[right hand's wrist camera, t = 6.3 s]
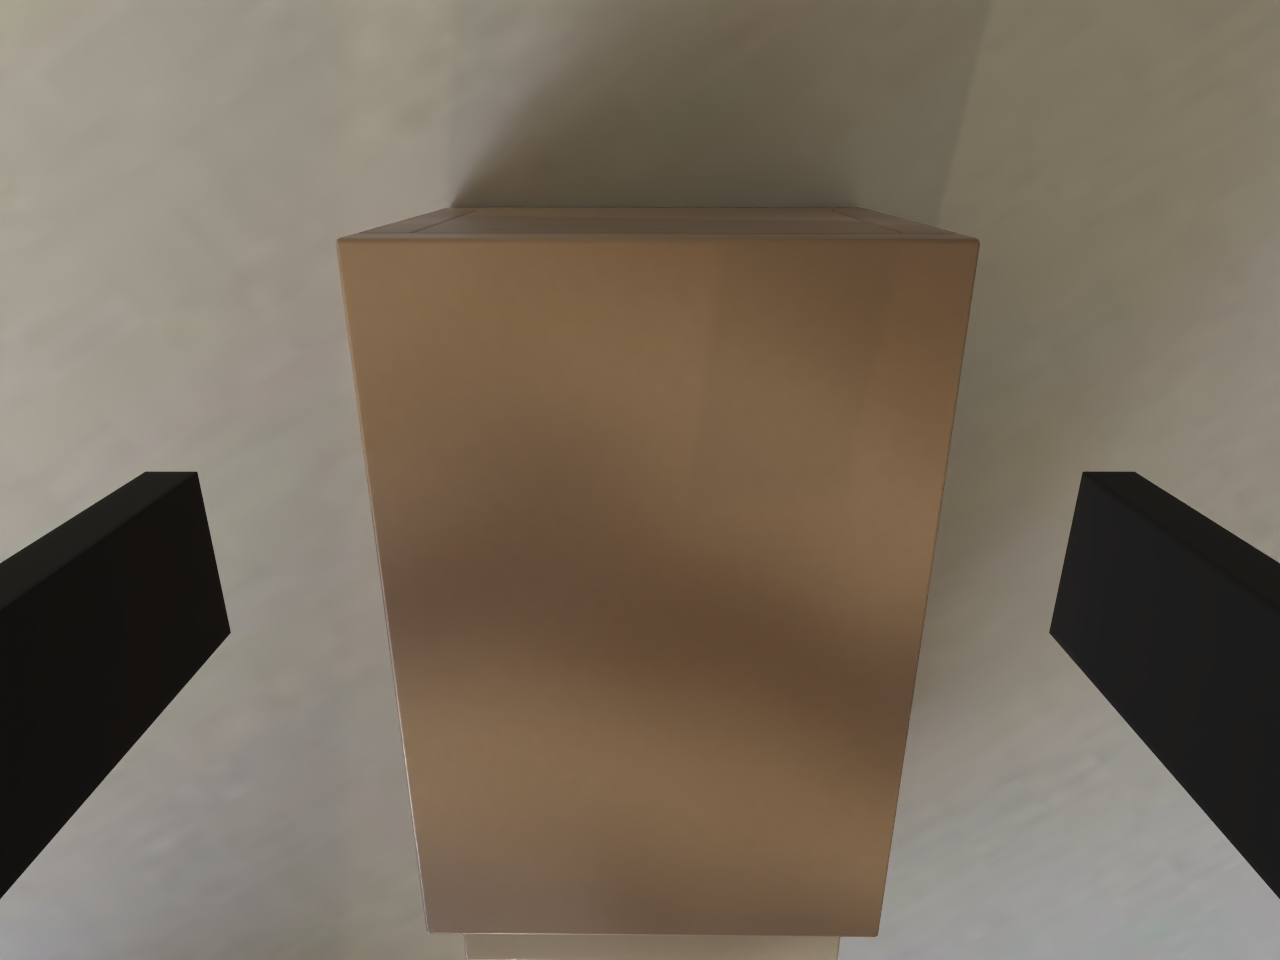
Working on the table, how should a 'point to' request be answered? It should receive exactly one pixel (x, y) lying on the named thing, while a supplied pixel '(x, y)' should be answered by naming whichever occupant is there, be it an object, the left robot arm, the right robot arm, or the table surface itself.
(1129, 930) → the table surface
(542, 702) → the cabinet
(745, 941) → the drawer
